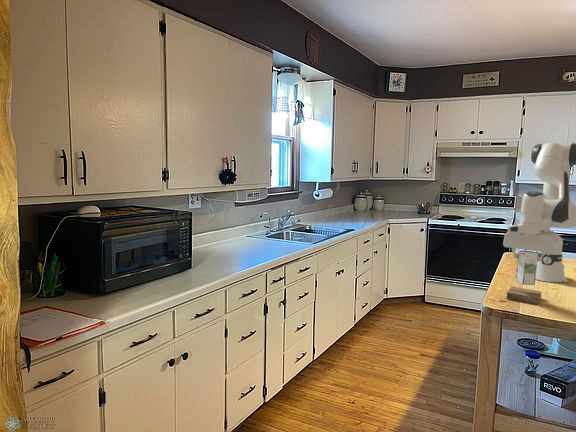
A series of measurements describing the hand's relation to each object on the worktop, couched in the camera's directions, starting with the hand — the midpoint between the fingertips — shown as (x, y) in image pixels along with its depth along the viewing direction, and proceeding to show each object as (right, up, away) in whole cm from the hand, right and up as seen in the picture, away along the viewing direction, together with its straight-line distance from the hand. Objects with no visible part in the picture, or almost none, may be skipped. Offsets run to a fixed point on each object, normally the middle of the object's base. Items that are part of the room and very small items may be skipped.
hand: (527, 259), depth 189 cm
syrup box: (0, -11, +1) cm, 11 cm away
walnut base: (0, -18, +2) cm, 18 cm away
